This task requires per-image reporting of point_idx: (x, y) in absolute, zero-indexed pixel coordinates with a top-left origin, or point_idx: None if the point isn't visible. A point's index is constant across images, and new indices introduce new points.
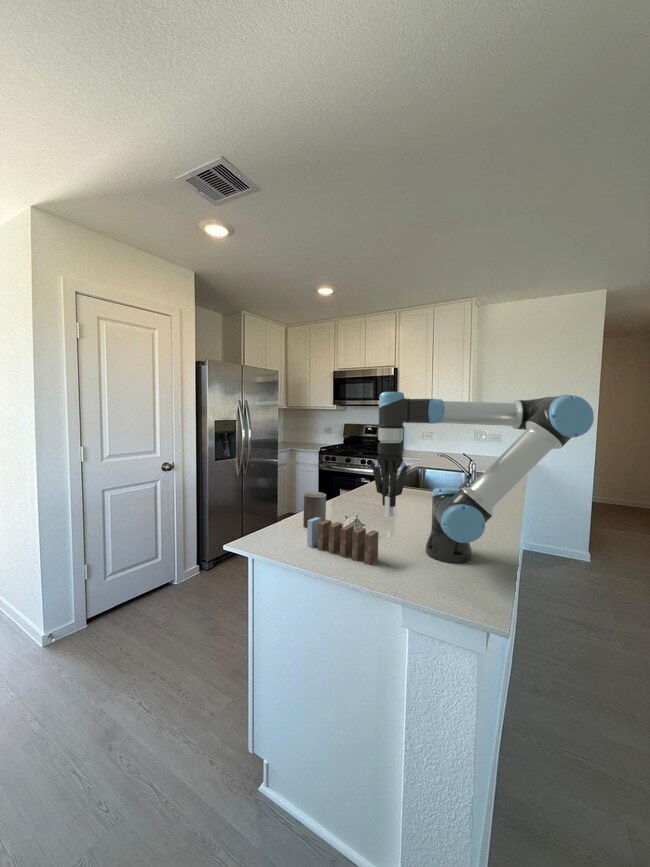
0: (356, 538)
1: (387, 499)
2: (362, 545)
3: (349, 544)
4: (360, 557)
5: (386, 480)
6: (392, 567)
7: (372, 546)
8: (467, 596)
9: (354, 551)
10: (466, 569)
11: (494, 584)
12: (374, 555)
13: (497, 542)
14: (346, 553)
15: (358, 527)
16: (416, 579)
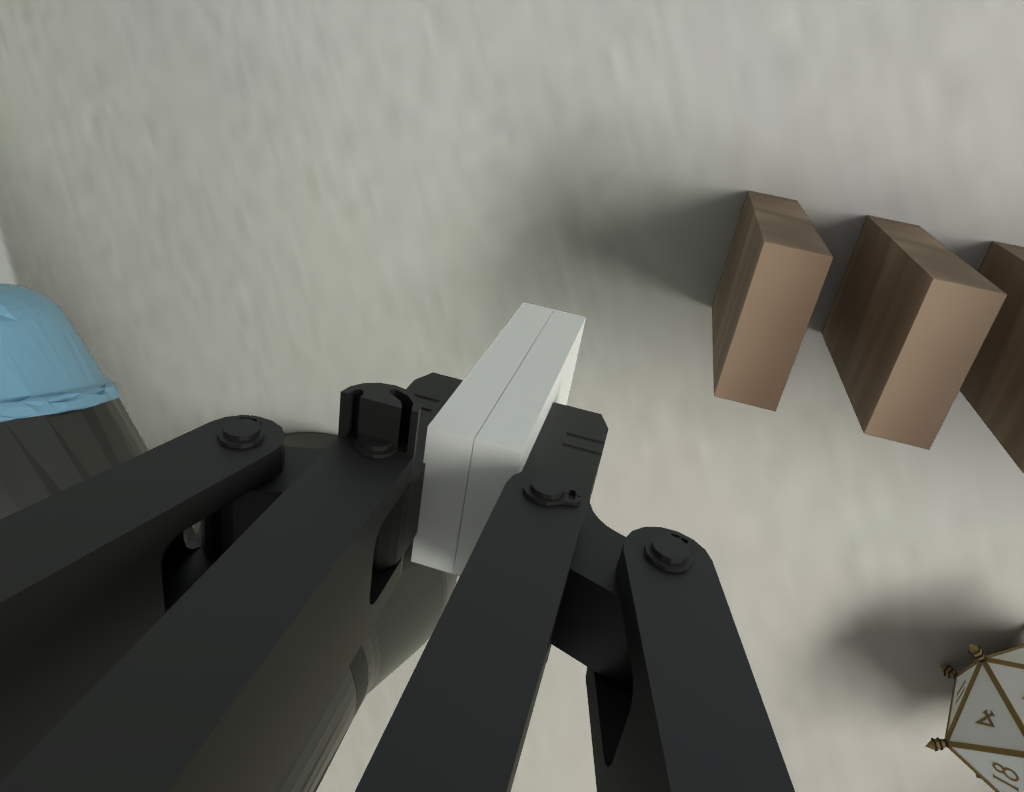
0: (928, 264)
1: (480, 412)
2: (857, 323)
3: (994, 333)
4: (851, 268)
5: (384, 755)
6: (581, 225)
7: (743, 256)
8: (101, 29)
9: (914, 238)
10: (208, 381)
11: (55, 254)
12: (729, 271)
13: None
14: (992, 270)
15: (980, 699)
16: (393, 110)
